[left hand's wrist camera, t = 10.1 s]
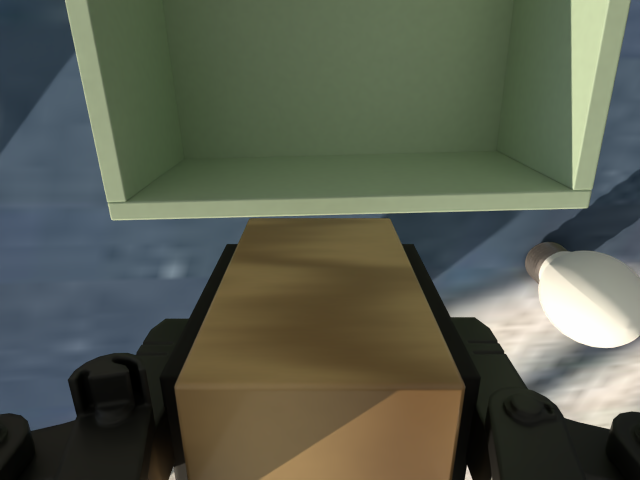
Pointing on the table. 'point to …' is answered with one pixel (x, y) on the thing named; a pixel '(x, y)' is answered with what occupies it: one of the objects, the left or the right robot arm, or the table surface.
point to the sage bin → (346, 104)
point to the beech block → (319, 362)
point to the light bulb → (587, 294)
